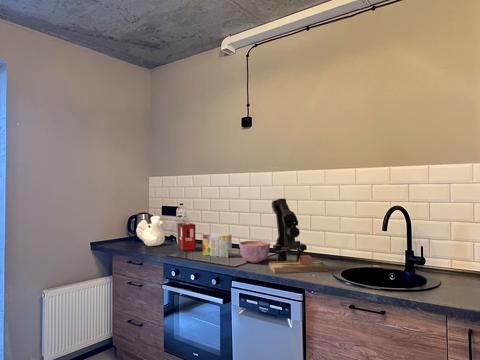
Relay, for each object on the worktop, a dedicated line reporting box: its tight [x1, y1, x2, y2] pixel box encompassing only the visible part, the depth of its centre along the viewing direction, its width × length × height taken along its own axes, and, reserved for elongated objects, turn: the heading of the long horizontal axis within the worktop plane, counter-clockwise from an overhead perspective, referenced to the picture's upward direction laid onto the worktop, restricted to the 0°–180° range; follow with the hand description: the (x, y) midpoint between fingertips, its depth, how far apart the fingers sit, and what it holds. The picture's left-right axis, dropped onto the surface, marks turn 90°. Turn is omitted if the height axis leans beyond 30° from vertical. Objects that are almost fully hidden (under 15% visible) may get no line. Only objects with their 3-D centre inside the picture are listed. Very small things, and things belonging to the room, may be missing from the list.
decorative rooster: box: [135, 215, 166, 247], centre depth 277 cm, size 25×16×25 cm, turn 61°
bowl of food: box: [238, 240, 271, 264], centre depth 210 cm, size 20×20×12 cm
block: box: [299, 254, 313, 265], centre depth 193 cm, size 6×6×4 cm
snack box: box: [202, 232, 233, 259], centre depth 229 cm, size 21×6×15 cm, turn 59°
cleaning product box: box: [177, 222, 197, 253], centre depth 252 cm, size 16×9×20 cm, turn 25°
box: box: [268, 259, 329, 274], centre depth 189 cm, size 16×30×3 cm, turn 96°
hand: (290, 262), depth 192 cm, fingers open, 9 cm apart
